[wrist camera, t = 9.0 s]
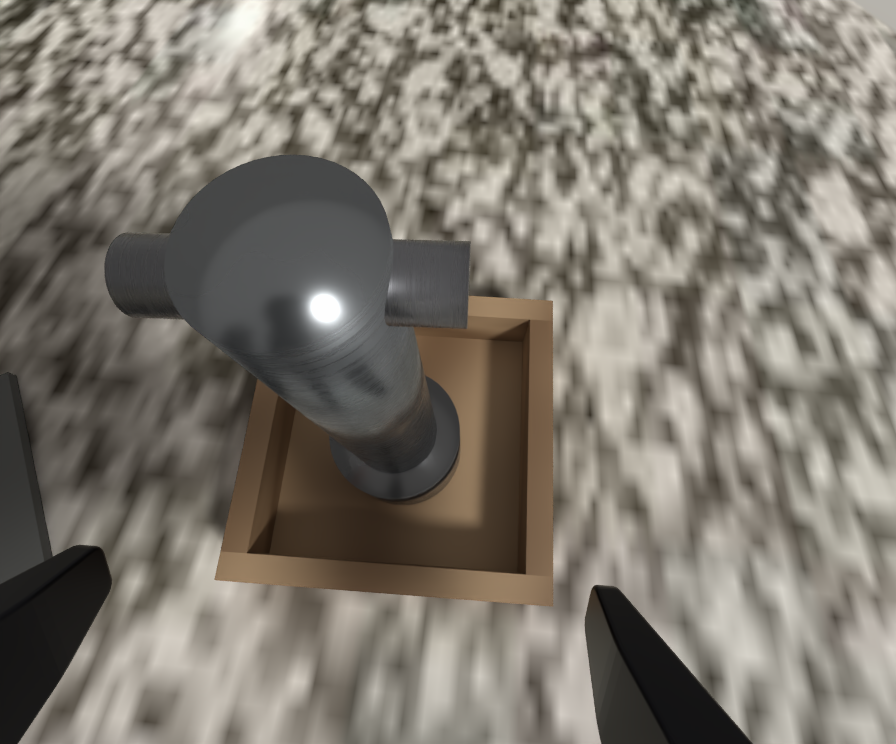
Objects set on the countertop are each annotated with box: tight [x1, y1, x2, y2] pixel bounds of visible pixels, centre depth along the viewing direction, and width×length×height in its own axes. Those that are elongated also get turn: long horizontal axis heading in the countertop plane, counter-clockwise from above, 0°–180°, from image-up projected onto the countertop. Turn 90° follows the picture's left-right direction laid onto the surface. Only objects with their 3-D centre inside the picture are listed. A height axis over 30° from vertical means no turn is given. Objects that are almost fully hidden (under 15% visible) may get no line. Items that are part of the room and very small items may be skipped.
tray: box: [215, 296, 553, 606], centre depth 18 cm, size 10×10×3 cm
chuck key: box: [105, 155, 470, 505], centre depth 12 cm, size 4×4×13 cm
